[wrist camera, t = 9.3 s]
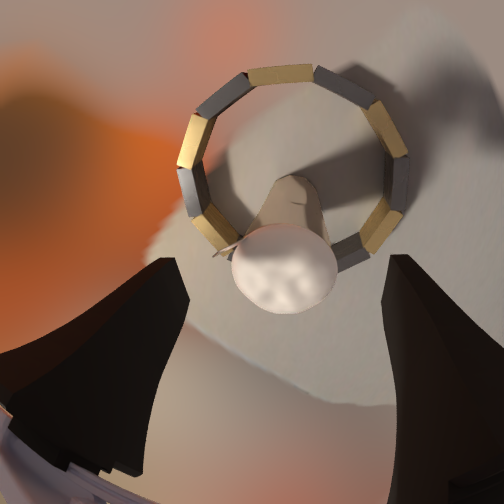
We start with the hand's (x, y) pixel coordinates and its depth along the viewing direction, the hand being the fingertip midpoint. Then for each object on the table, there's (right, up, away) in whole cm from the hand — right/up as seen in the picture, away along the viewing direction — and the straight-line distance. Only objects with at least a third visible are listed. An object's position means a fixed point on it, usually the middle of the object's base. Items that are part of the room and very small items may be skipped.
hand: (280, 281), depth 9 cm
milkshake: (+2, +5, +9) cm, 11 cm away
